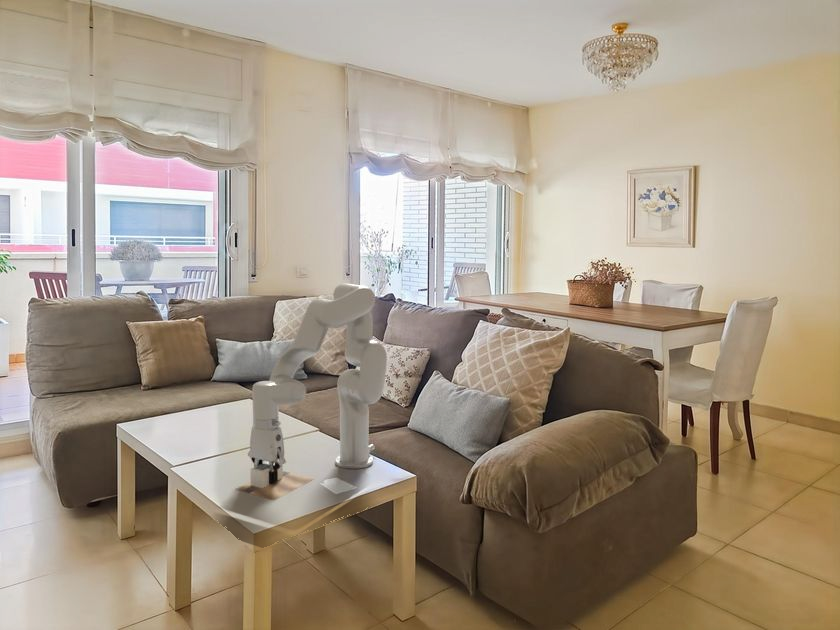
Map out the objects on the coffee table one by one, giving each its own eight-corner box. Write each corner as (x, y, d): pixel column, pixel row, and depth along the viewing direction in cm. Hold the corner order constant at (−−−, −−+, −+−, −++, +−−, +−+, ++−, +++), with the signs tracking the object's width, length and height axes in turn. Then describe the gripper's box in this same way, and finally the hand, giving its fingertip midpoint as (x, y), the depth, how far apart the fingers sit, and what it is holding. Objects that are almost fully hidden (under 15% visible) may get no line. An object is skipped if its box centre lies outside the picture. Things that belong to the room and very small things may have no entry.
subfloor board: (277, 472, 197) (277, 469, 196) (314, 482, 189) (314, 478, 189) (235, 492, 181) (235, 489, 181) (274, 503, 174) (274, 500, 174)
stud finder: (271, 475, 192) (271, 458, 191) (282, 478, 190) (282, 461, 189) (250, 485, 184) (250, 468, 183) (262, 488, 182) (261, 471, 181)
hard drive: (359, 487, 183) (336, 474, 193) (335, 494, 178) (313, 481, 188) (359, 492, 184) (336, 479, 193) (335, 499, 178) (313, 486, 188)
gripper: (296, 423, 184) (296, 482, 186) (253, 415, 192) (254, 471, 194) (279, 430, 177) (279, 491, 179) (236, 421, 185) (237, 479, 187)
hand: (266, 480), depth 187 cm, fingers closed on stud finder, 4 cm apart
